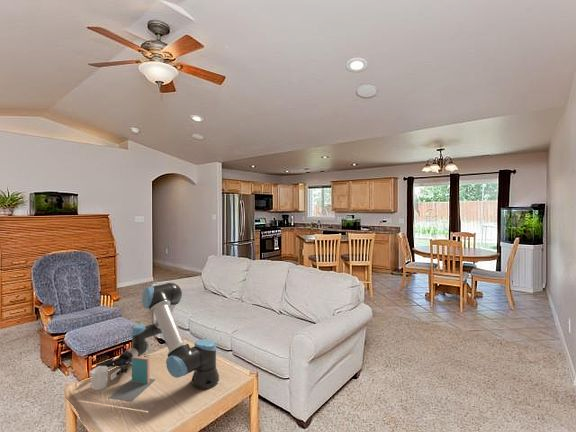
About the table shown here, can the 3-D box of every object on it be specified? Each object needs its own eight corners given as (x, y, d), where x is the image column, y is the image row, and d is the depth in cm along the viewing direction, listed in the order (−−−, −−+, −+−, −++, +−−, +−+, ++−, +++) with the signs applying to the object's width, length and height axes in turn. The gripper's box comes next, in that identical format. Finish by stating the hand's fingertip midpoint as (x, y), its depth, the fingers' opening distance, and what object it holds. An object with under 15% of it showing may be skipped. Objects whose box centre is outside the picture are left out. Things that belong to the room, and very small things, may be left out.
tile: (149, 382, 171) (149, 357, 170) (147, 384, 169) (147, 359, 168) (133, 380, 172) (133, 355, 172) (131, 381, 171) (131, 357, 170)
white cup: (103, 391, 162) (103, 373, 162) (88, 392, 162) (87, 373, 162) (111, 383, 170) (111, 365, 170) (96, 383, 170) (96, 365, 169)
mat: (156, 380, 173) (156, 379, 173) (131, 402, 154) (131, 401, 154) (134, 377, 176) (134, 376, 176) (107, 399, 156) (107, 398, 156)
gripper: (146, 365, 185) (120, 385, 165) (110, 360, 190) (81, 379, 170) (145, 353, 185) (120, 371, 164) (110, 348, 190) (81, 366, 169)
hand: (100, 375), depth 167 cm, fingers open, 13 cm apart
